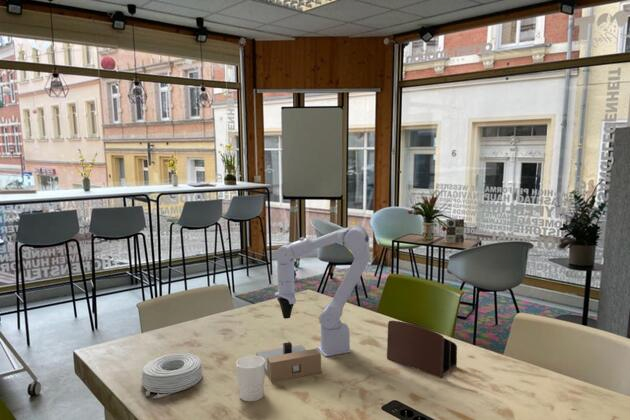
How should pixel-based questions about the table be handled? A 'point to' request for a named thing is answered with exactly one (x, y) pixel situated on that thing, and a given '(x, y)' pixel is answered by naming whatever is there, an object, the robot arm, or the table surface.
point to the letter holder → (420, 348)
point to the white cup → (251, 377)
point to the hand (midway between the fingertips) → (286, 317)
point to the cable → (171, 374)
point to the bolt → (288, 349)
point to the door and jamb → (291, 362)
